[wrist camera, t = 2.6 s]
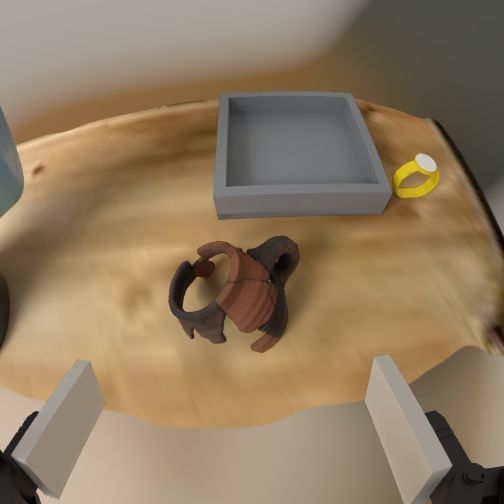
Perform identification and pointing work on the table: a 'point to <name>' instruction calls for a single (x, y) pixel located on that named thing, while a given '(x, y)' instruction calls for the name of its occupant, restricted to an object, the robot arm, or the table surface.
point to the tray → (295, 157)
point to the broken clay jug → (240, 291)
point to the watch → (418, 164)
